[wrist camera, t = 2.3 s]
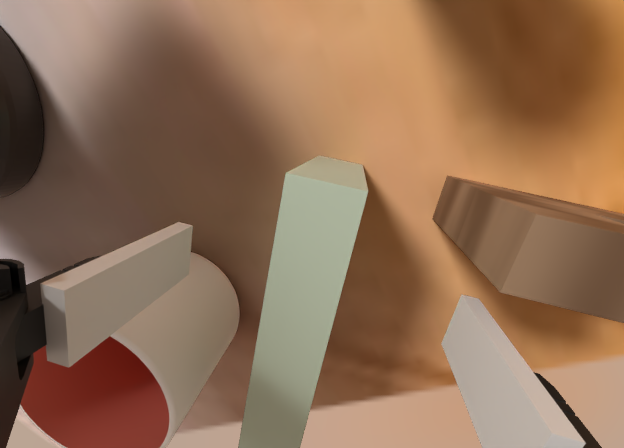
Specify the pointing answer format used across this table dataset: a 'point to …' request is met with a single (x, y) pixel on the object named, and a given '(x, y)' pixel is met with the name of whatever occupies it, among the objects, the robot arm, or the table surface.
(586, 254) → the walnut stand
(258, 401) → the sage plate
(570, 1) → the table surface
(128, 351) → the cup
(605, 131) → the table surface
